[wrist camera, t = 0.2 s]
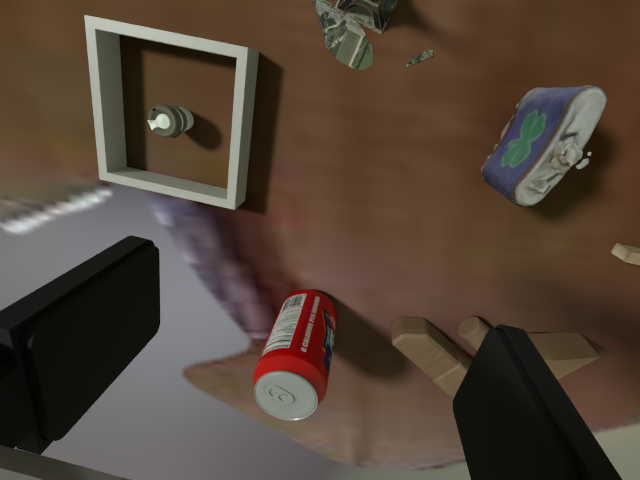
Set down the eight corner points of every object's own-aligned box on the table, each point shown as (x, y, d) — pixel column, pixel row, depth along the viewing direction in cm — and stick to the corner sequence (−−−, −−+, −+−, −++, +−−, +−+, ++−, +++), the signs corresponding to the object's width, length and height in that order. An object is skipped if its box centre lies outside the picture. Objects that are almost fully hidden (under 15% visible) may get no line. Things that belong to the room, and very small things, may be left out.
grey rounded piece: (252, 144, 39) (237, 151, 35) (173, 184, 43) (150, 194, 38) (198, 38, 36) (173, 30, 31) (116, 91, 39) (83, 91, 35)
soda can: (299, 275, 45) (268, 354, 31) (348, 304, 46) (339, 394, 32) (273, 314, 48) (234, 401, 35) (319, 341, 49) (300, 436, 35)
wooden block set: (484, 432, 45) (389, 351, 42) (473, 397, 50) (387, 323, 47) (611, 368, 38) (508, 267, 35) (583, 335, 43) (491, 245, 40)
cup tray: (109, 22, 36) (84, 14, 33) (259, 51, 35) (247, 47, 32) (119, 172, 43) (99, 179, 39) (244, 200, 42) (234, 209, 39)
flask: (528, 83, 33) (602, 79, 22) (558, 95, 33) (645, 97, 22) (474, 177, 37) (515, 210, 27) (500, 187, 37) (551, 225, 27)
